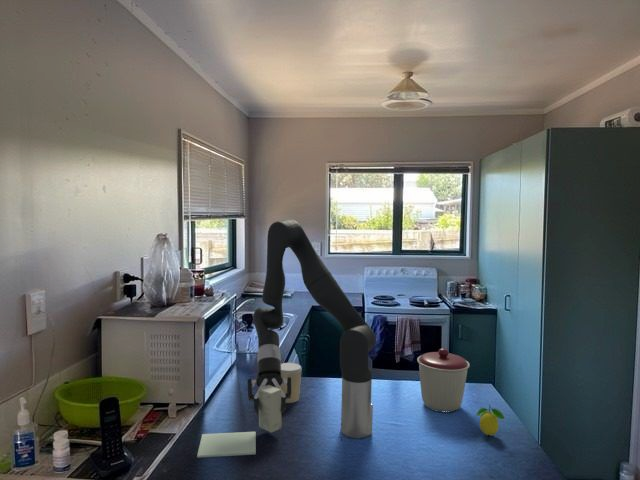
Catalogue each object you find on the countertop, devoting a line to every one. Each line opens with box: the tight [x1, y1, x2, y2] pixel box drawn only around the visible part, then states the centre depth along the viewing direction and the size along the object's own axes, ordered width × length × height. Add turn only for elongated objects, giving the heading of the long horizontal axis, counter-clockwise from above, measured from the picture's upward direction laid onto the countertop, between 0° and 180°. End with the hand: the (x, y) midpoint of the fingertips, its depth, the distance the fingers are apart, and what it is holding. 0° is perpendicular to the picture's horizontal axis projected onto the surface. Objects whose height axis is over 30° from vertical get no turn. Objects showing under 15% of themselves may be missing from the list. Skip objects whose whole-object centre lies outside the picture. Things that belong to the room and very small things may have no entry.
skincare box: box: [257, 385, 283, 434], centre depth 135 cm, size 6×4×12 cm
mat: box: [196, 431, 257, 459], centre depth 129 cm, size 16×12×1 cm
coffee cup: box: [280, 362, 303, 404], centre depth 162 cm, size 9×9×12 cm
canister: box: [416, 347, 471, 413], centre depth 158 cm, size 18×18×21 cm
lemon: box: [476, 404, 506, 436], centre depth 137 cm, size 7×6×10 cm
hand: (270, 412), depth 134 cm, fingers closed on skincare box, 7 cm apart
